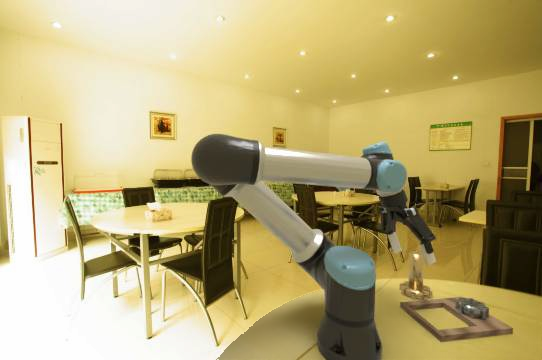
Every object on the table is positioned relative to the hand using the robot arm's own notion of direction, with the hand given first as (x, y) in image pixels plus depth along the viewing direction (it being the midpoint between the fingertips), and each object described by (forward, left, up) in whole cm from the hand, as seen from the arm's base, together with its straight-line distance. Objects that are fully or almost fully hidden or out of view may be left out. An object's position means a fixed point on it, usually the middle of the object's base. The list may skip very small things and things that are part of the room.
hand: (413, 257), depth 79 cm
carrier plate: (+7, -7, -16) cm, 19 cm away
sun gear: (+14, -7, -14) cm, 21 cm away
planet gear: (+7, +8, -16) cm, 19 cm away
